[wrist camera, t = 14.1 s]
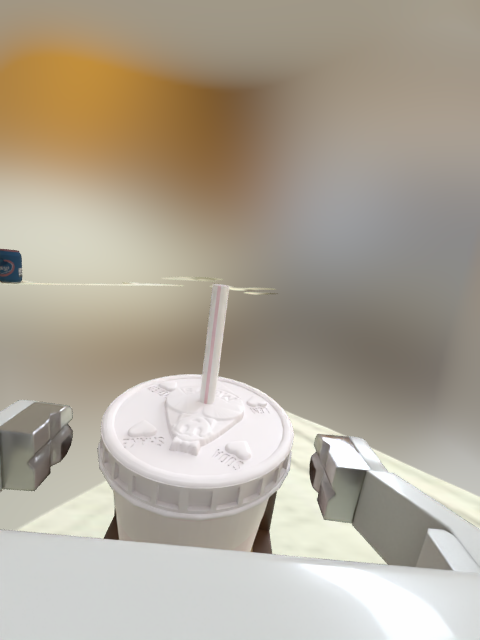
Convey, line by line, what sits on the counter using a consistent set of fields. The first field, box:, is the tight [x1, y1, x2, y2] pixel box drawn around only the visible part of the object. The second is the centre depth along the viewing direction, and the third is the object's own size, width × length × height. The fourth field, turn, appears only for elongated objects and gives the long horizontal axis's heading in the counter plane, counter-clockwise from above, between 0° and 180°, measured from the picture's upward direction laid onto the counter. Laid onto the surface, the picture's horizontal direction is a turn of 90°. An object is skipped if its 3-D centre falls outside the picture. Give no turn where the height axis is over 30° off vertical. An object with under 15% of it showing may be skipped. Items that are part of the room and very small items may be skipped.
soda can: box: [0, 249, 22, 283], centre depth 103 cm, size 7×7×12 cm
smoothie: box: [97, 284, 294, 552], centre depth 10 cm, size 6×6×14 cm
